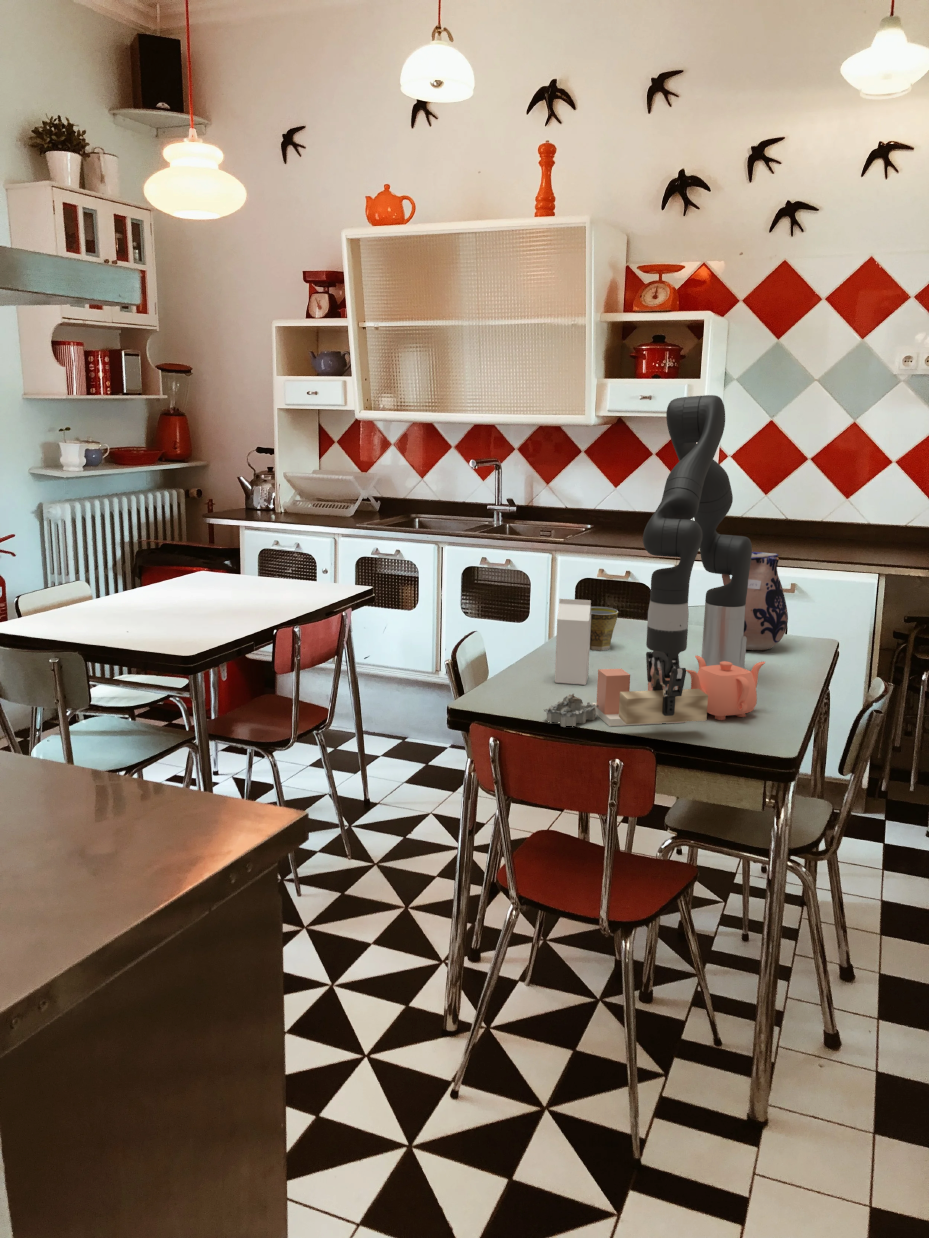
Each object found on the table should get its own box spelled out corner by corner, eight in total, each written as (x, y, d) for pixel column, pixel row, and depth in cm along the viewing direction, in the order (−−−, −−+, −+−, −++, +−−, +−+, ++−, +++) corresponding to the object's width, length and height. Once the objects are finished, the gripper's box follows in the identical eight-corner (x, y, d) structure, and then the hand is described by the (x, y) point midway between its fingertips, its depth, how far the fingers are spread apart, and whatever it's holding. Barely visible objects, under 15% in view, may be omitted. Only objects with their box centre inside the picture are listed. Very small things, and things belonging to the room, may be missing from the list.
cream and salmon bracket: (663, 706, 208) (665, 662, 206) (684, 722, 197) (688, 676, 195) (591, 709, 205) (593, 665, 203) (609, 726, 194) (611, 680, 192)
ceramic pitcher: (759, 658, 250) (767, 561, 245) (692, 642, 266) (699, 551, 261) (798, 649, 261) (807, 555, 255) (732, 634, 277) (739, 546, 271)
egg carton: (573, 711, 205) (574, 692, 204) (602, 719, 199) (603, 700, 198) (539, 721, 197) (540, 702, 196) (568, 730, 192) (569, 710, 191)
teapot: (682, 719, 200) (685, 666, 198) (692, 700, 213) (695, 651, 211) (756, 728, 195) (760, 674, 192) (761, 708, 208) (765, 658, 206)
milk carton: (585, 685, 223) (589, 603, 219) (554, 683, 224) (557, 601, 220) (588, 677, 230) (592, 597, 226) (558, 675, 231) (561, 595, 227)
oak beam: (697, 713, 192) (698, 688, 191) (706, 720, 188) (708, 695, 187) (618, 716, 190) (619, 691, 189) (626, 724, 186) (627, 698, 185)
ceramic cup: (624, 649, 257) (626, 611, 255) (595, 654, 252) (597, 615, 250) (591, 639, 268) (592, 603, 266) (563, 643, 262) (564, 606, 260)
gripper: (702, 632, 179) (696, 721, 183) (670, 615, 193) (666, 699, 196) (664, 634, 177) (659, 724, 181) (634, 617, 191) (630, 701, 195)
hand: (662, 710), depth 189 cm, fingers closed on oak beam, 4 cm apart
